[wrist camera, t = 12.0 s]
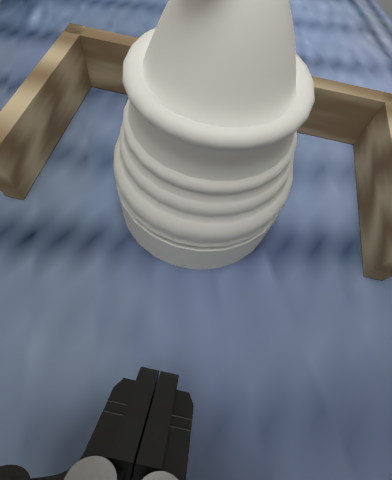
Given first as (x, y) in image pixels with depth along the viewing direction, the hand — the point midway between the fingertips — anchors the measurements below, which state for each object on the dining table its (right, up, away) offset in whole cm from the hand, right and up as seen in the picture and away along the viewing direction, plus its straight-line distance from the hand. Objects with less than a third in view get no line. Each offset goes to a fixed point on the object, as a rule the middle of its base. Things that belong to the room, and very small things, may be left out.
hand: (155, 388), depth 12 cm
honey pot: (+2, +9, +14) cm, 17 cm away
